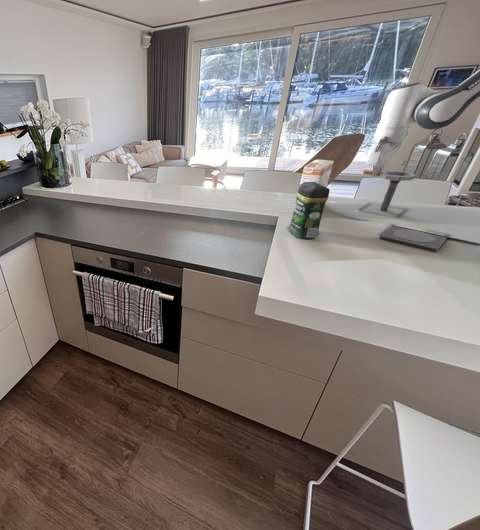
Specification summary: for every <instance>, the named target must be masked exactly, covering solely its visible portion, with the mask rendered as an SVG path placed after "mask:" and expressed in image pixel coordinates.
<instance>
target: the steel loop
mask: <svg viewBox="0 0 480 530" xmlns="http://www.w3.org/2000/svg"><path fill="white" fill-rule="evenodd" d="M372 171H373V170H368V169H365V170H363V172H362V175H367V176H376V177H379V178H381V179H384V180H387V181H388V180H389V181H390V180H396V181H400V182H402V181H403V182H405V181H406V182H407V181H412V180H415V178H416V176H417V174H416V173H413V172H411V171H403V170H384V171H381V172H380V171H379V173H378V174H376V175H375V174H372Z"/></svg>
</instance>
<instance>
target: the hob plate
mask: <svg viewBox="0 0 480 530" xmlns="http://www.w3.org/2000/svg"><path fill="white" fill-rule="evenodd" d="M448 238H449V236H447V235H443V234H437V233H432V232H428V231H423V230H417V229H413V228H408V227H403V226H398V225H391V226H390V227H389V228H388V229H386V231H384V232H383V233H382V234H380V236H379V240H383V241H388V242H390V243H391V242H392V243H395V244H399V245H404V246H408V247H412V248H417V249H420V250H425V251H429V252H433V253H437V251H438V250H440V248H441V247H442V245H443V244H444V243H445V242H446V240H447V239H448Z"/></svg>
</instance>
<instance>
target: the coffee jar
mask: <svg viewBox="0 0 480 530" xmlns="http://www.w3.org/2000/svg"><path fill="white" fill-rule="evenodd" d="M329 197H330V188H328V186H327V187H325V186H323V185H320V184H318V183H316V182H304V183H302V184H301V185H300V184H299V186H298V189H297V192H296V200H295V205H294V208H293V212H292V215H291V219H290V223H289V226H288V231H289V232H290V233H291V235H293V236H294V237H296V238H298V239H305V240H310V239H311V240H312V239H315V238H316V237H318V233H319V230H320V226H321V221H322V218H323V213H324V209H325V205H326V203H327V201H328V199H329Z"/></svg>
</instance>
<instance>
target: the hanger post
mask: <svg viewBox="0 0 480 530" xmlns="http://www.w3.org/2000/svg"><path fill="white" fill-rule="evenodd" d="M400 182H401V181H396V180H389V184H388V187H387V189H386V192H385V194H384V197H383V199H382V202H381V205H380V207H379V209H378V210H379V211H380V212H388V209H389V207H390V205H391V202H392V200H393V197H394V195H395V193H396V190H397V188H398V186H399V183H400Z"/></svg>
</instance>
